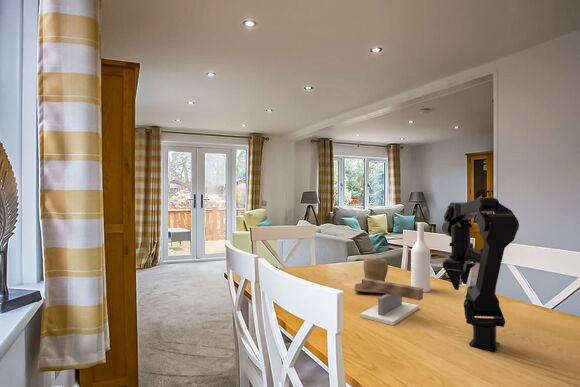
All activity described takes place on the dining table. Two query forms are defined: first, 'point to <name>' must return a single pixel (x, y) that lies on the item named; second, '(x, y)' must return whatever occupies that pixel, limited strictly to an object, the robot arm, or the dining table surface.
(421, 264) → the bottle
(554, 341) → the dining table surface
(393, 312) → the ridge
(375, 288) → the walnut bar
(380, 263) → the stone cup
